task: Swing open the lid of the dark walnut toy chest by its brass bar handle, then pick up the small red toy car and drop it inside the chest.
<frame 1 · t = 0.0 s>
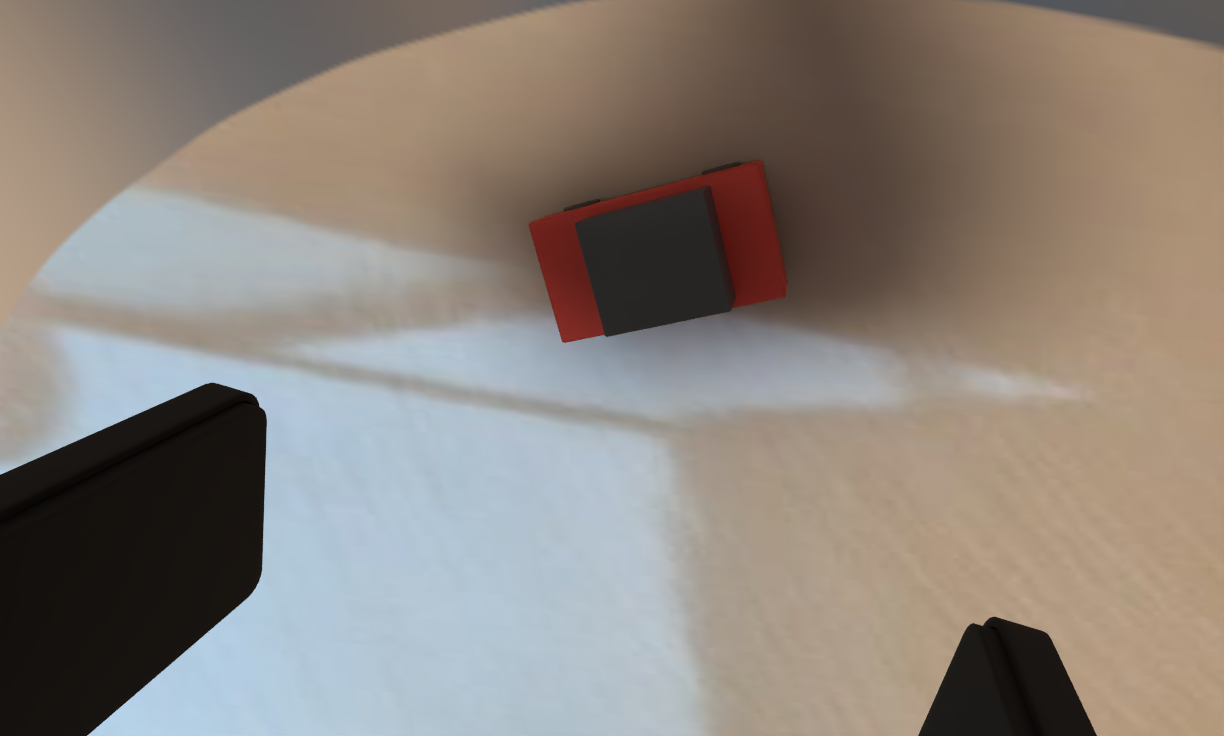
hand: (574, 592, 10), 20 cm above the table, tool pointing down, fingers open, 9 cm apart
car: (668, 245, 28), on the table
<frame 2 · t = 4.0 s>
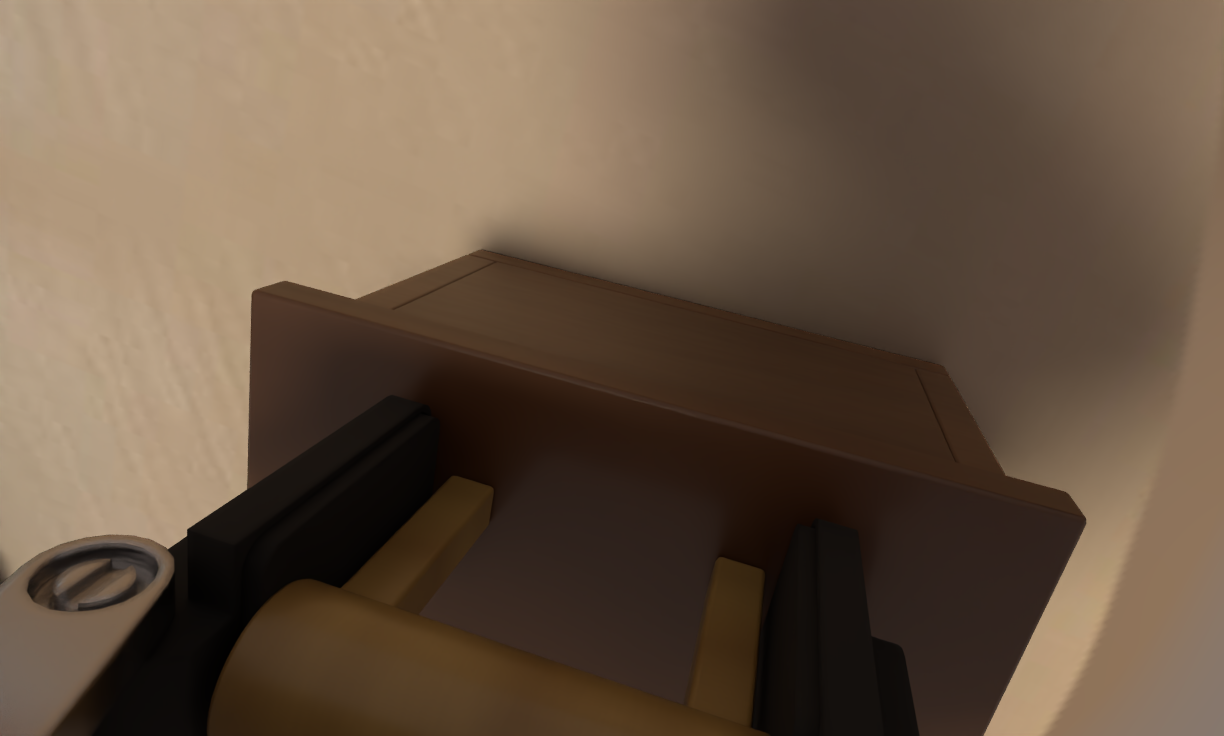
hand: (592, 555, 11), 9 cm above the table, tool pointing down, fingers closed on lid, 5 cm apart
chest: (639, 553, 21), on the table
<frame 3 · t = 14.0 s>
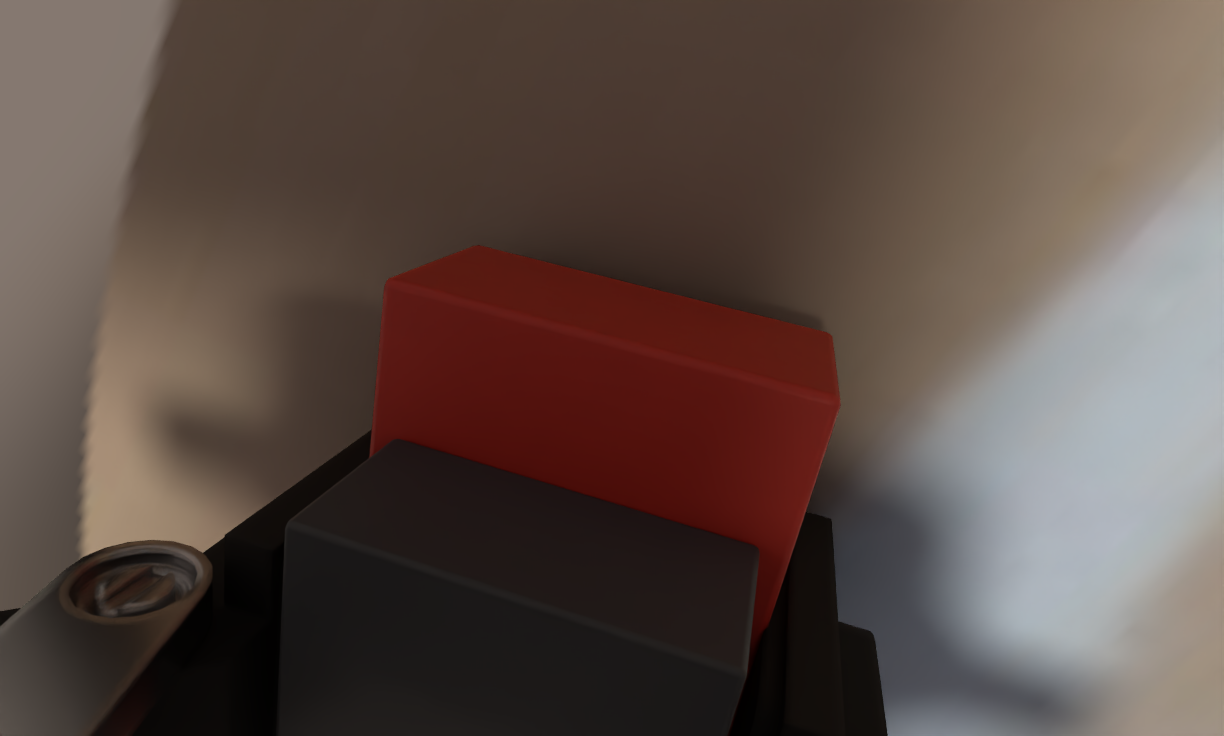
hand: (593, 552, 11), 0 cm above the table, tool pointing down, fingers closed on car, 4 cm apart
car: (600, 539, 11), on the table, touching gripper
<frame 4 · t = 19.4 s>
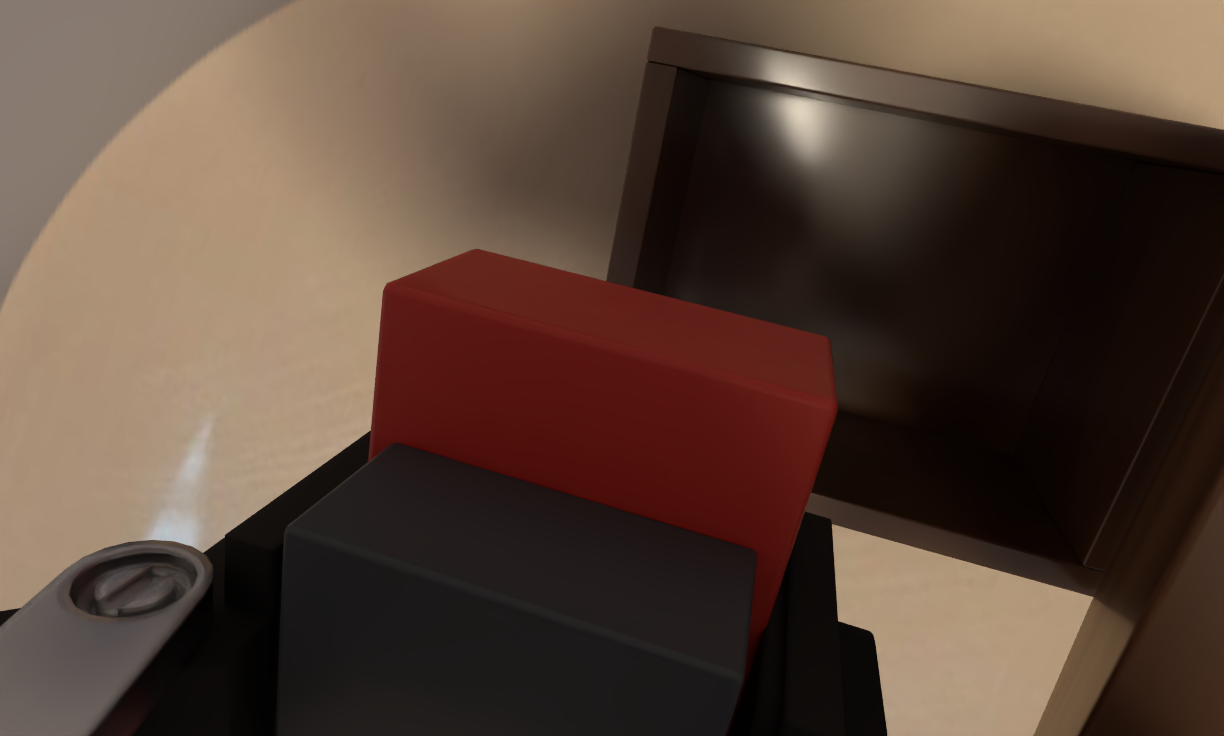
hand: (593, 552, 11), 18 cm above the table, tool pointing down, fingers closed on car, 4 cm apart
chest: (864, 267, 26), on the table
car: (598, 542, 11), point 18 cm above the table, touching gripper
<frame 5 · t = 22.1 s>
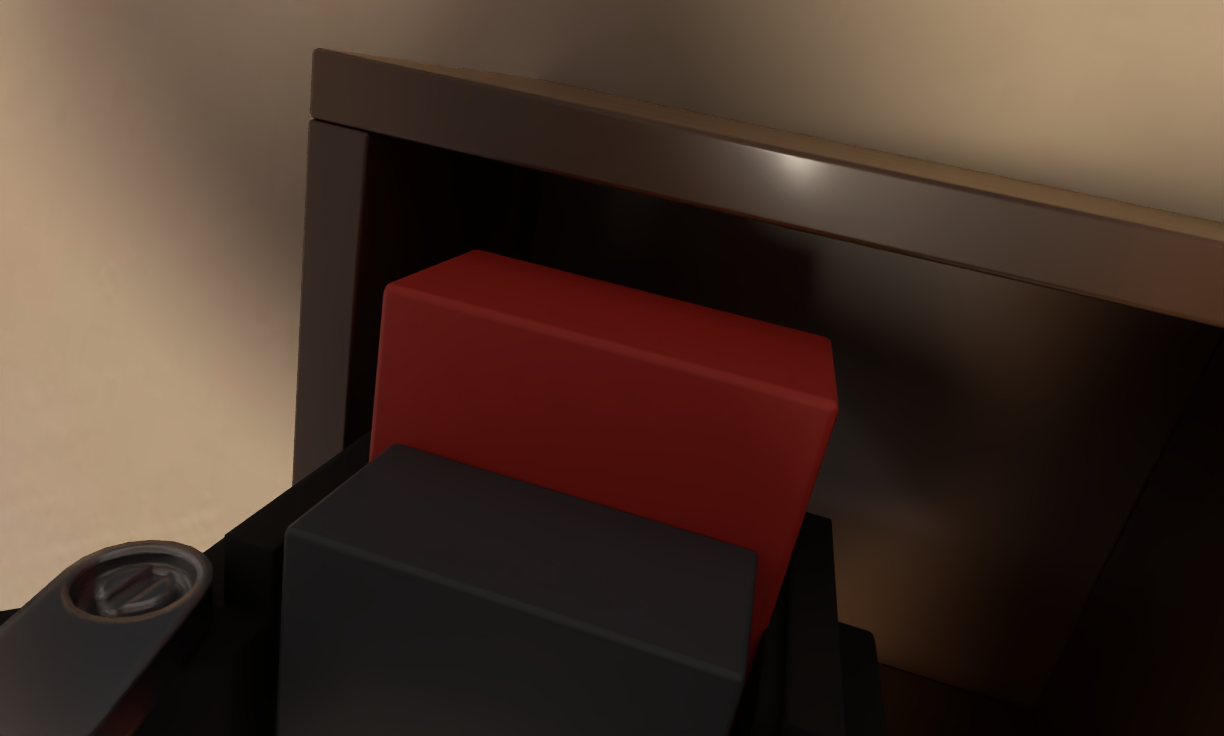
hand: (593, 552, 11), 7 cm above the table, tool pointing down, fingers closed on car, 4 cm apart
chest: (802, 417, 17), on the table
car: (599, 543, 11), point 7 cm above the table, touching gripper
when the fingers open (8 cm above the table, at t = 29.3 s): car drops 7 cm, resting on chest.
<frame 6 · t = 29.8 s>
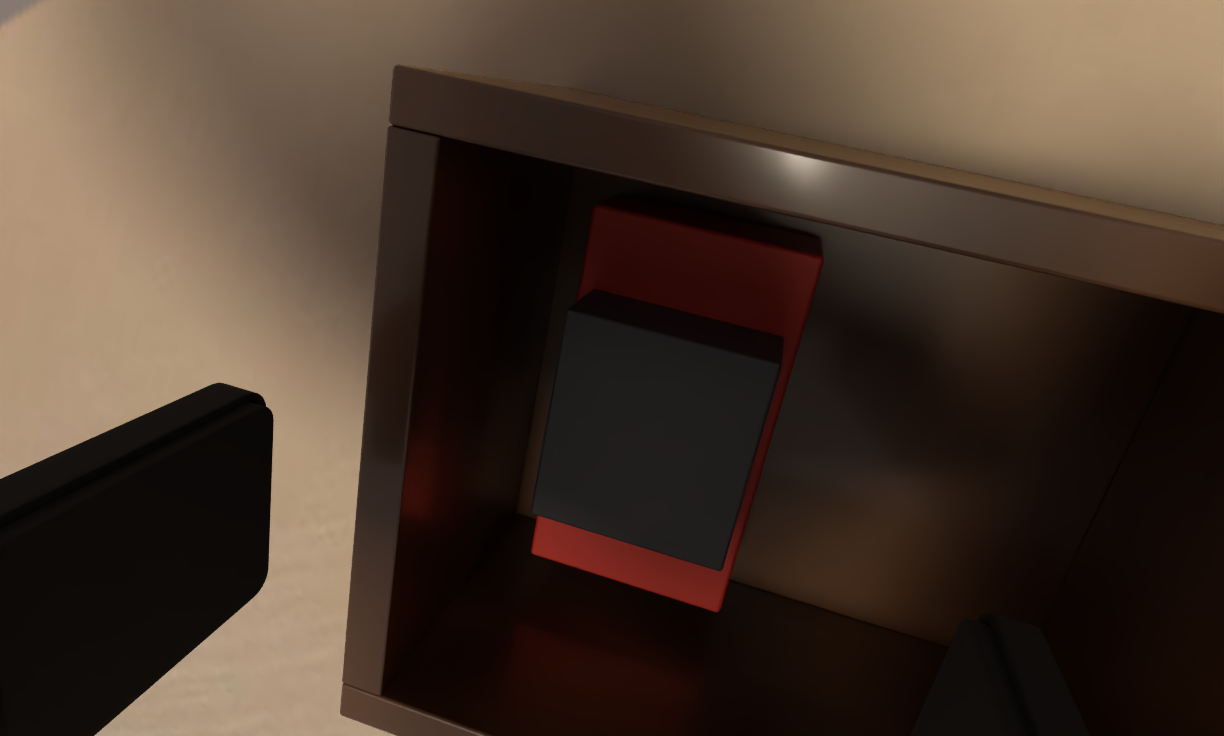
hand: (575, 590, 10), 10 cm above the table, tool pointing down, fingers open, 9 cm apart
chest: (809, 398, 18), on the table
car: (682, 377, 18), point 1 cm above the table, touching chest
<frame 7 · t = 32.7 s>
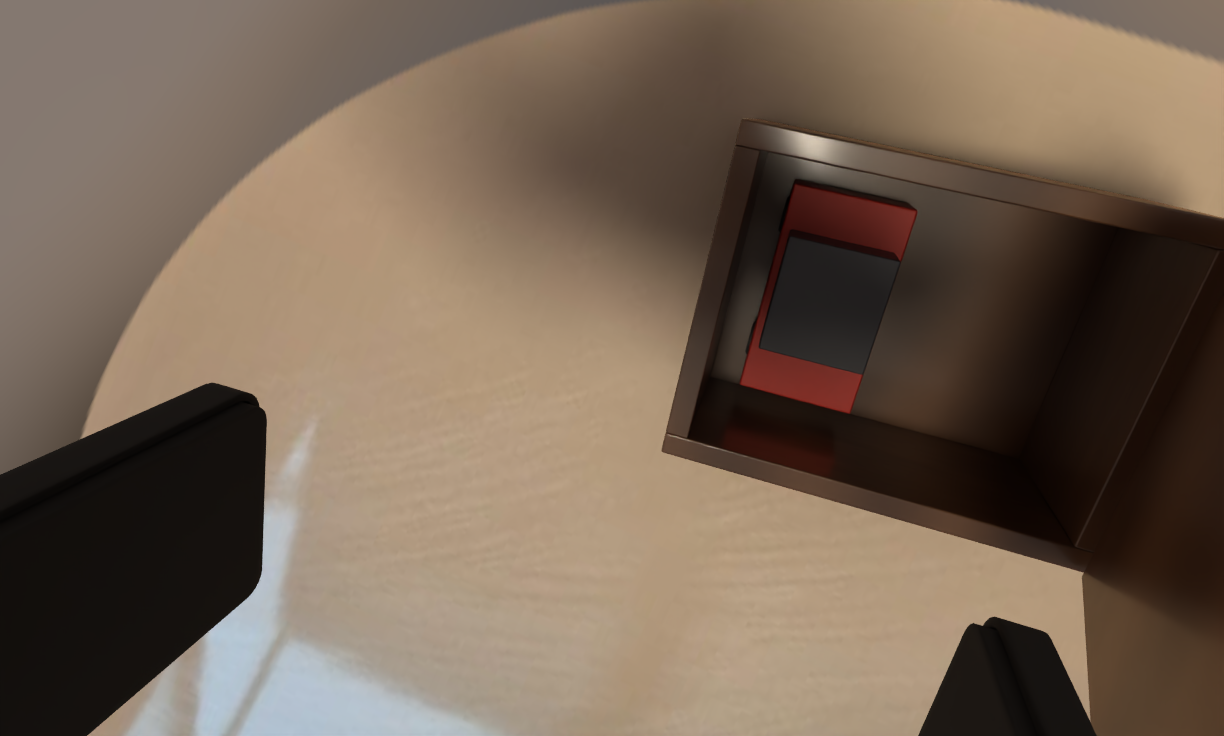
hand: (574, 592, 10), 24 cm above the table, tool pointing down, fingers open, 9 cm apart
chest: (894, 300, 31), on the table
car: (821, 287, 31), point 1 cm above the table, touching chest
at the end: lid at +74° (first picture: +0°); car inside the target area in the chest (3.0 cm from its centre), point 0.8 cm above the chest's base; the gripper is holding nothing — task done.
